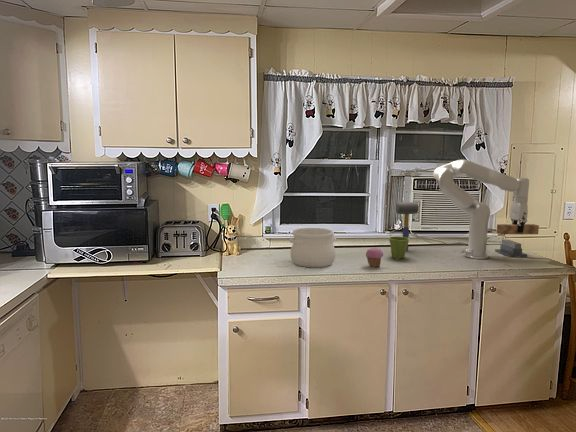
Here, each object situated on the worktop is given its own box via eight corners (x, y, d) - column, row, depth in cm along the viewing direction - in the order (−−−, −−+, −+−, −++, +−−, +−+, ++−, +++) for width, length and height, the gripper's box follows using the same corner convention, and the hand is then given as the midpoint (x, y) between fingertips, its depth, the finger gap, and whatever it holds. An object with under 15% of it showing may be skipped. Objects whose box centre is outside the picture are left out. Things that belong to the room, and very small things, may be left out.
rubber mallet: (412, 248, 264) (415, 201, 260) (417, 251, 257) (419, 202, 252) (393, 249, 263) (395, 201, 259) (397, 251, 256) (399, 202, 251)
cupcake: (385, 266, 223) (386, 247, 221) (376, 269, 217) (377, 250, 215) (371, 263, 229) (372, 245, 227) (362, 266, 223) (362, 247, 221)
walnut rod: (500, 234, 238) (501, 225, 237) (496, 233, 242) (497, 224, 242) (538, 234, 240) (538, 225, 239) (533, 232, 244) (533, 224, 243)
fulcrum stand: (509, 257, 244) (510, 244, 242) (494, 251, 257) (495, 239, 256) (527, 256, 245) (528, 244, 244) (511, 251, 259) (512, 239, 258)
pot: (296, 270, 214) (296, 236, 211) (283, 259, 237) (283, 228, 235) (343, 267, 221) (344, 234, 218) (327, 256, 244) (327, 226, 241)
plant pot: (411, 260, 236) (412, 240, 234) (390, 260, 236) (391, 240, 234) (405, 255, 248) (406, 236, 246) (385, 255, 248) (386, 236, 246)
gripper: (505, 198, 246) (502, 229, 249) (523, 201, 230) (520, 234, 232) (517, 198, 247) (514, 228, 249) (536, 201, 230) (533, 234, 233)
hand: (517, 231), depth 241 cm, fingers closed on walnut rod, 4 cm apart
